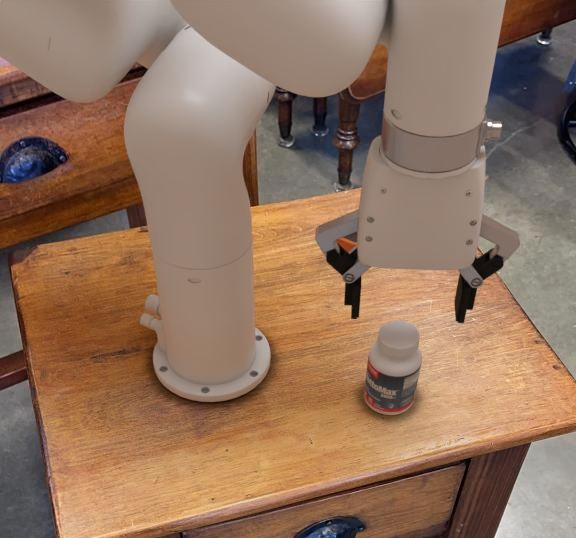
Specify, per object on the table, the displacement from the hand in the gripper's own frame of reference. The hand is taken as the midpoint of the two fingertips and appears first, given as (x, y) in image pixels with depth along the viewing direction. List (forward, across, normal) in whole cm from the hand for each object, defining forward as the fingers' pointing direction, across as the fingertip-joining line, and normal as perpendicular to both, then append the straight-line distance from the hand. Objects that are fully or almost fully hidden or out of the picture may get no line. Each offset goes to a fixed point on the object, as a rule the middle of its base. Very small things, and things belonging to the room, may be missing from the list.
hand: (406, 311), depth 77 cm
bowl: (+12, +4, -27) cm, 29 cm away
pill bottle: (+12, +1, 0) cm, 12 cm away
